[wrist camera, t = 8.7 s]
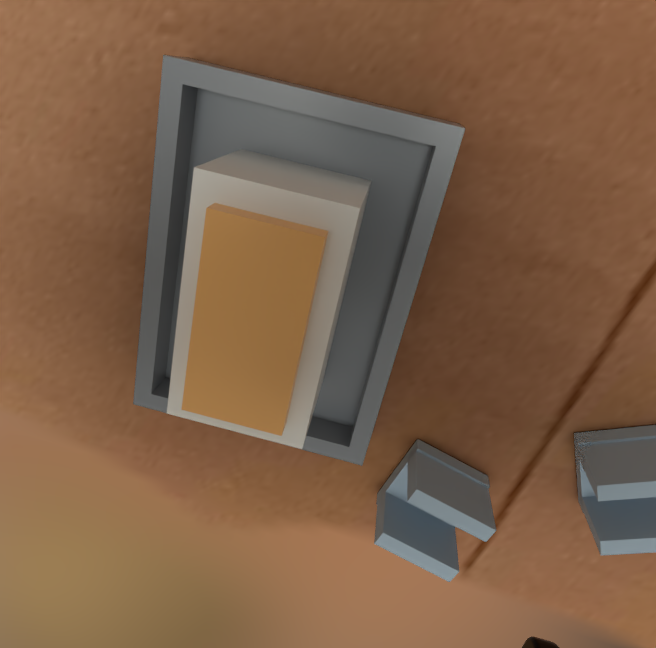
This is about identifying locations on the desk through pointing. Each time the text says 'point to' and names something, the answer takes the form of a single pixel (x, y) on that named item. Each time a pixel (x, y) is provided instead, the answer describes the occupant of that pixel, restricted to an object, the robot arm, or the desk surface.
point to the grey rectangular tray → (321, 152)
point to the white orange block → (261, 292)
